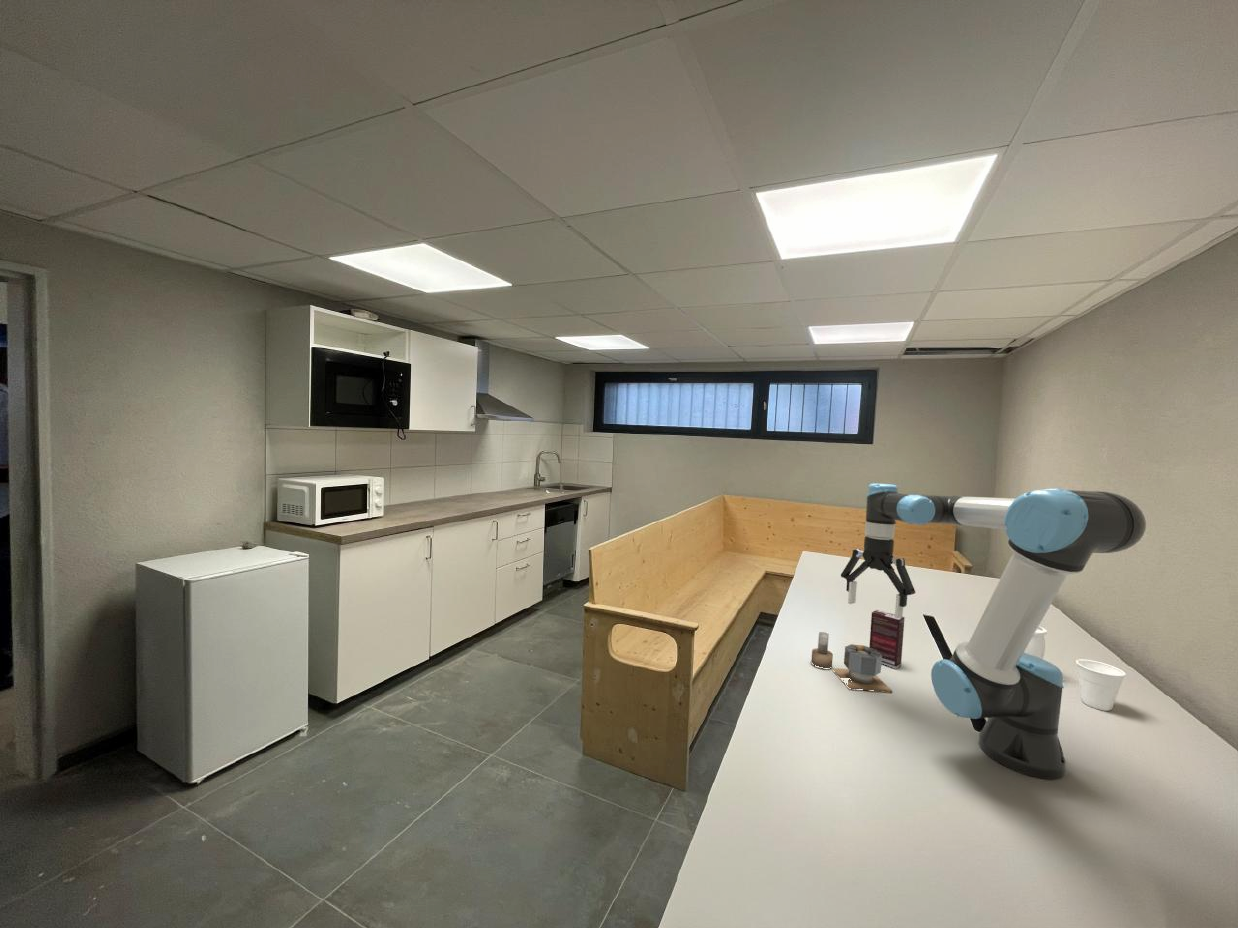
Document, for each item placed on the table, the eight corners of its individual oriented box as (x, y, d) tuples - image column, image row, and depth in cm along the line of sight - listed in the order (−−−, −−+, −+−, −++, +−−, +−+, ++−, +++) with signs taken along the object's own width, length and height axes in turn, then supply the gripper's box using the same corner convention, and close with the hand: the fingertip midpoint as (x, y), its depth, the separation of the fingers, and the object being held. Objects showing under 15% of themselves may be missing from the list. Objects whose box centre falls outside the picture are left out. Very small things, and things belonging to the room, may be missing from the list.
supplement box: (901, 665, 154) (905, 616, 154) (896, 669, 151) (900, 620, 150) (872, 655, 161) (876, 608, 160) (867, 659, 158) (871, 611, 157)
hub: (892, 692, 136) (894, 663, 136) (849, 689, 137) (851, 660, 136) (871, 672, 148) (873, 645, 148) (831, 669, 149) (833, 642, 148)
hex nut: (884, 670, 141) (886, 653, 141) (870, 678, 136) (871, 660, 136) (854, 658, 149) (855, 642, 148) (839, 665, 143) (840, 648, 143)
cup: (1132, 717, 130) (1136, 677, 129) (1089, 711, 132) (1093, 672, 131) (1103, 699, 139) (1107, 661, 139) (1063, 693, 141) (1067, 656, 141)
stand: (835, 670, 149) (837, 638, 148) (815, 668, 149) (817, 636, 148) (827, 661, 155) (829, 630, 154) (808, 660, 155) (810, 629, 154)
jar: (1026, 666, 159) (1030, 621, 159) (1051, 681, 149) (1055, 633, 148) (992, 662, 160) (996, 618, 160) (1014, 677, 150) (1018, 630, 149)
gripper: (932, 544, 131) (927, 621, 132) (845, 529, 152) (841, 596, 152) (919, 546, 127) (913, 626, 128) (831, 530, 148) (827, 599, 148)
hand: (874, 610), depth 140 cm, fingers open, 13 cm apart
